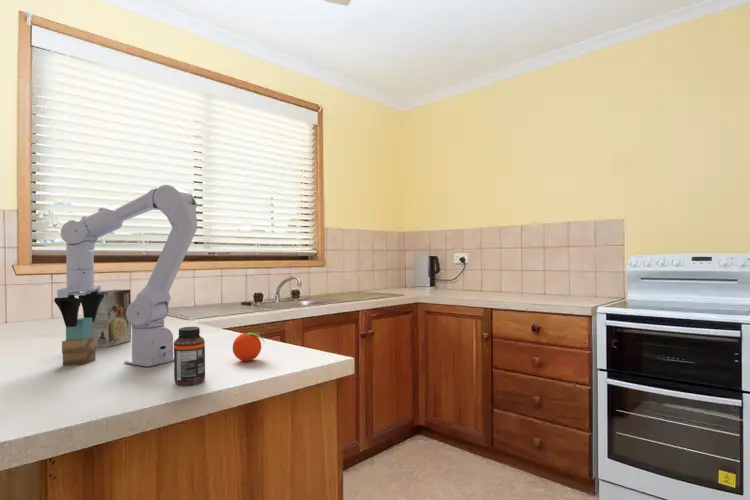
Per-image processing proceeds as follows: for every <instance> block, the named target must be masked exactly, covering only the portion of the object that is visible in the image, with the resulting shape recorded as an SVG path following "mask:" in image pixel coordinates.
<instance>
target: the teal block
mask: <svg viewBox="0 0 750 500" xmlns="http://www.w3.org/2000/svg"><path fill="white" fill-rule="evenodd" d="M89 338H92V318H84V317H78V319H77V325H76V326H75V327H66V326H65V340H66V341H70V340H85V339H89Z"/></svg>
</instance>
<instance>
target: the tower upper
mask: <svg viewBox="0 0 750 500" xmlns="http://www.w3.org/2000/svg"><path fill="white" fill-rule="evenodd" d="M95 347H96V346H95V339H94V337H92V338H89V339H85V340H70V341H66V339H64V340H61V354H62V355H63V354H66V353H85V352H88V351H90V350H93V349H96V348H95Z"/></svg>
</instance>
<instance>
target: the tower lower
mask: <svg viewBox="0 0 750 500" xmlns="http://www.w3.org/2000/svg"><path fill="white" fill-rule="evenodd" d="M96 351H97V349H96V348H95V349H93V350H90V351H88V352H85V353H66V354H62V366H83V365H84V366H85V365H87V364H90V363H91V362H94V361H96V360H97V359H96V358H97V357H96V356H97V355H96Z"/></svg>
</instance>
